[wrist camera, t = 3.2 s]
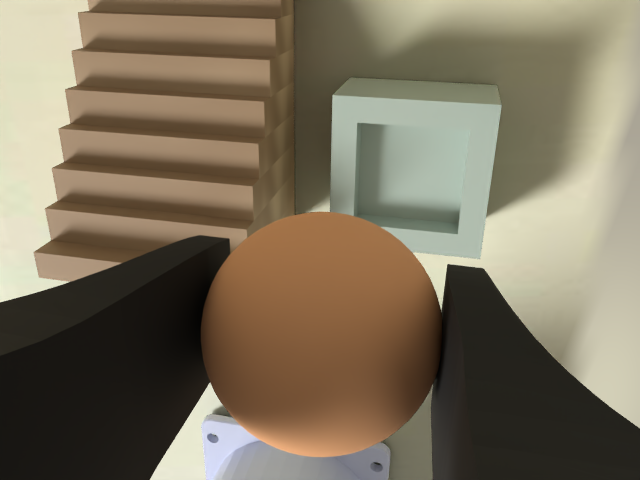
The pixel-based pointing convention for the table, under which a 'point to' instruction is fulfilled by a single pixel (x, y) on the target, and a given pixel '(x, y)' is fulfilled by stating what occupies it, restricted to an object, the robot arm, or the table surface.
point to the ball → (321, 334)
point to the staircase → (172, 130)
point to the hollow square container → (416, 160)
